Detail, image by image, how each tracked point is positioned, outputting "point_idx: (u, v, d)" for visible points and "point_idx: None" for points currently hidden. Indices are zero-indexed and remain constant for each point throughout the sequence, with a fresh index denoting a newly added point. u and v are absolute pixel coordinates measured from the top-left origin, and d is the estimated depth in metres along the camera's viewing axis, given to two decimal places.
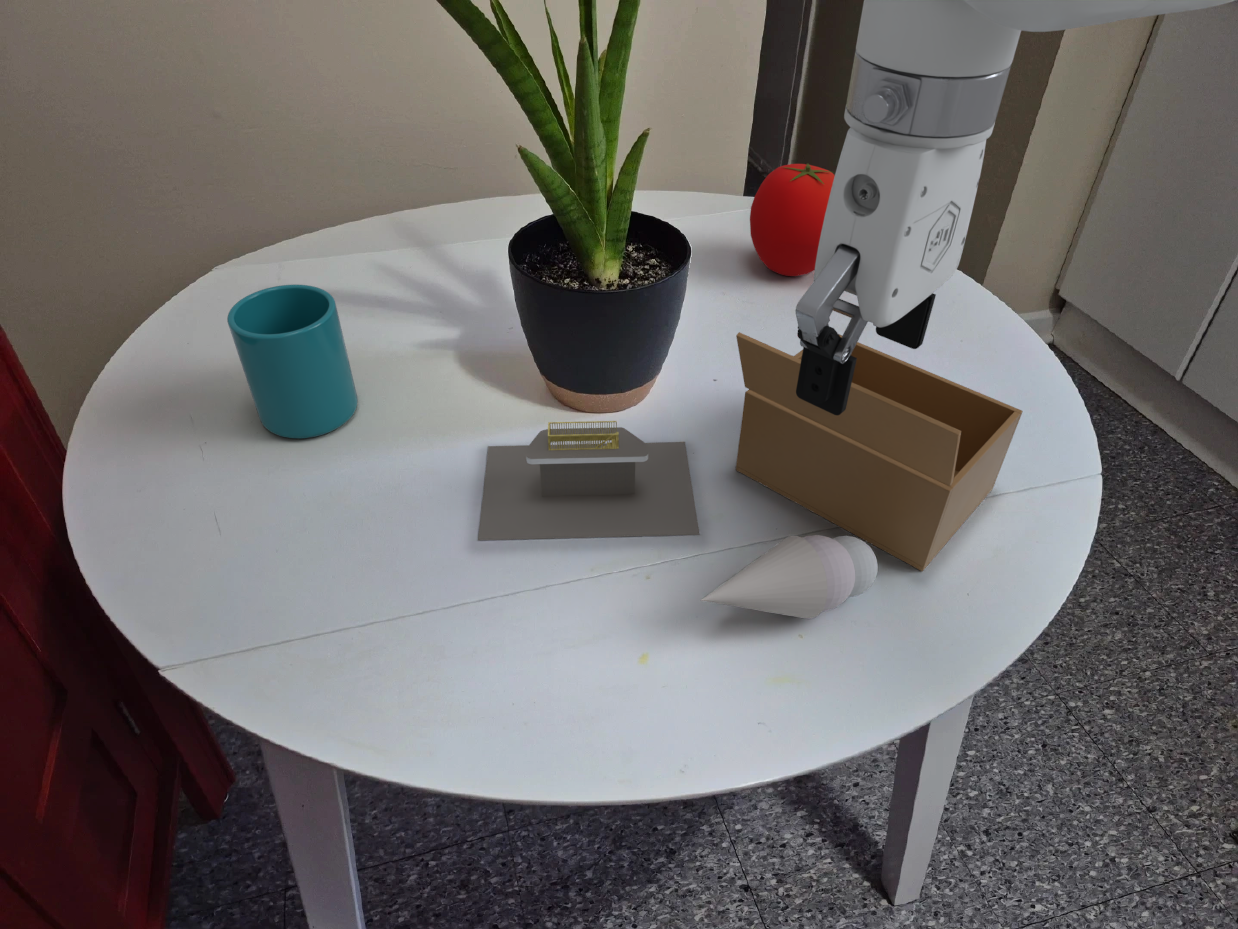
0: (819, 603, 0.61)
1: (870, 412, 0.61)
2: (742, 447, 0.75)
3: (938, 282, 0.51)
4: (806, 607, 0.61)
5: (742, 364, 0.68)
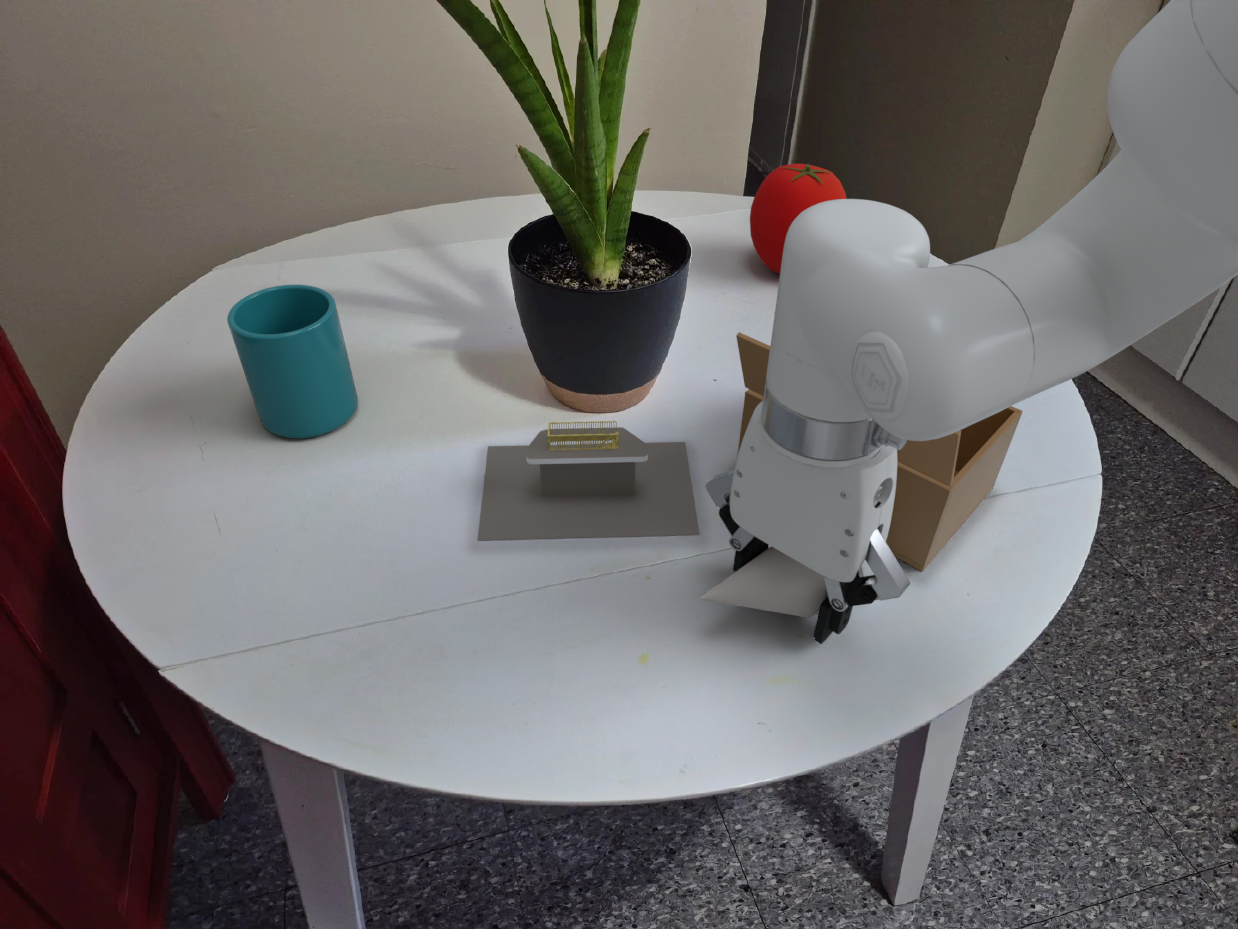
0: (818, 602, 0.61)
1: None
2: None
3: None
4: (805, 606, 0.61)
5: (742, 364, 0.68)
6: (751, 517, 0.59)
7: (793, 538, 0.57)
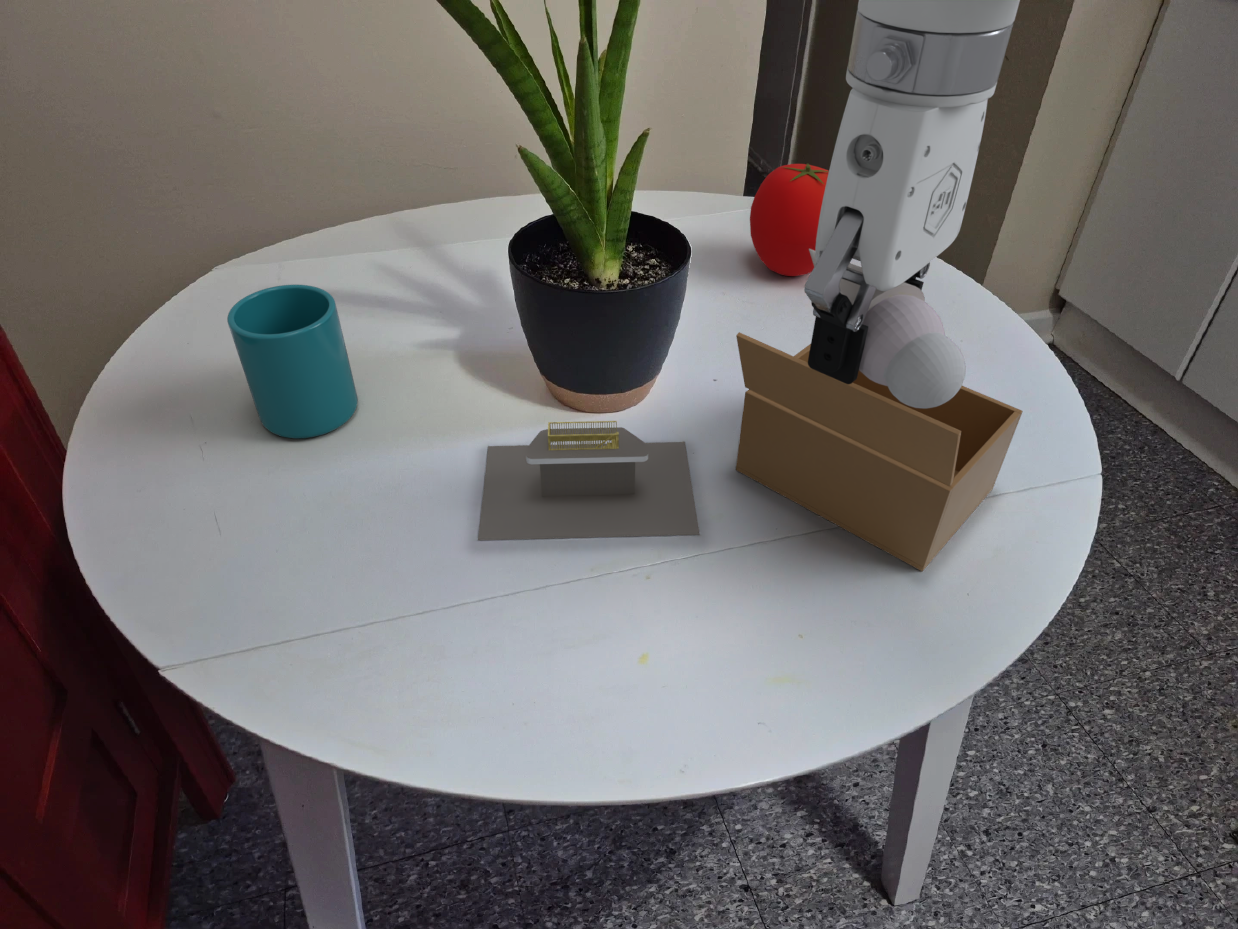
0: None
1: (870, 412, 0.61)
2: (742, 447, 0.75)
3: (940, 247, 0.51)
4: None
5: (742, 364, 0.68)
6: None
7: None
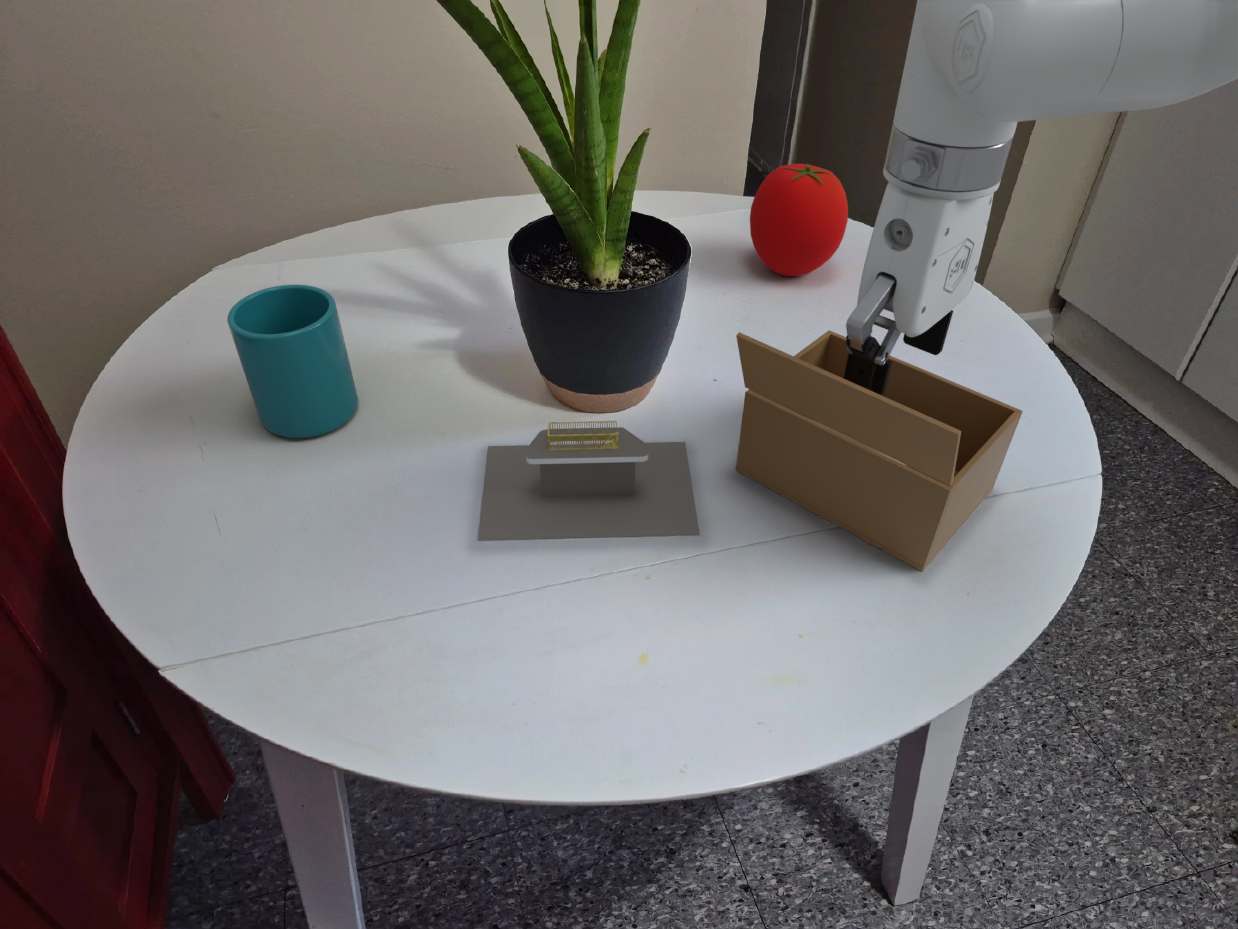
0: None
1: (870, 412, 0.61)
2: (742, 447, 0.75)
3: (956, 301, 0.63)
4: None
5: (742, 364, 0.68)
6: None
7: None
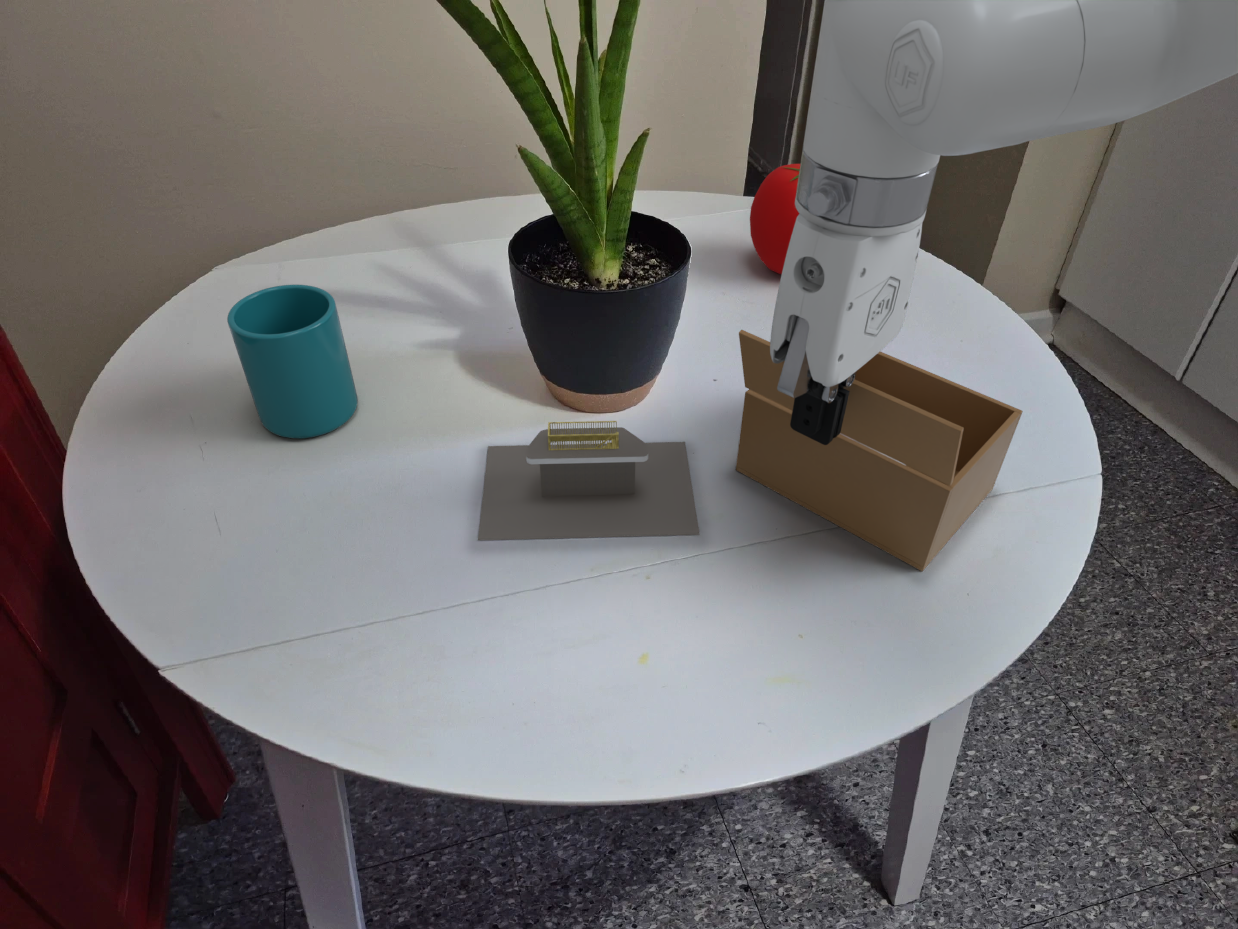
0: None
1: (872, 410, 0.61)
2: (742, 447, 0.75)
3: (883, 343, 0.56)
4: None
5: (743, 363, 0.68)
6: None
7: None
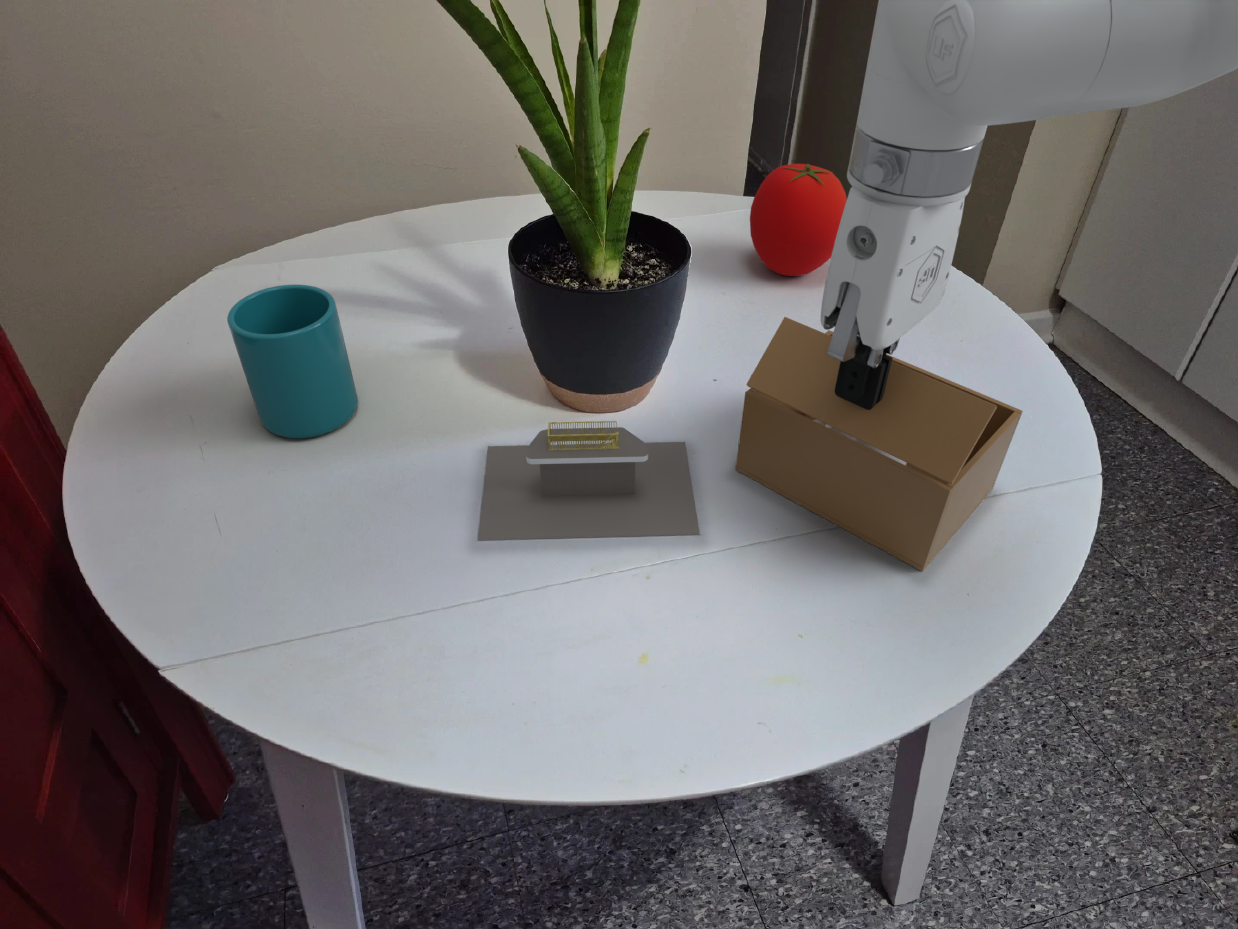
0: None
1: (900, 393, 0.65)
2: (742, 447, 0.75)
3: (926, 311, 0.60)
4: None
5: (766, 352, 0.70)
6: None
7: None
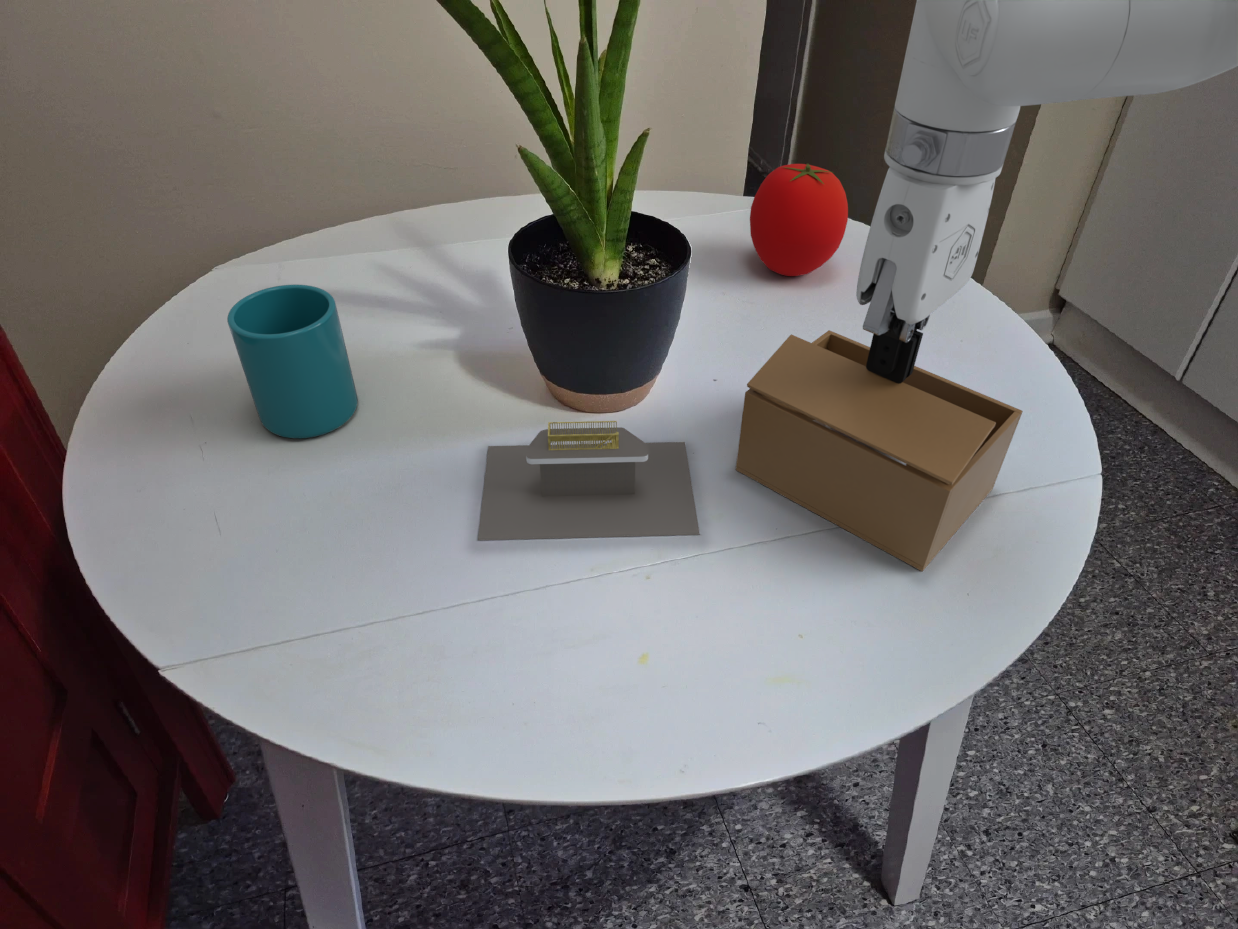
0: None
1: (902, 404, 0.66)
2: (742, 447, 0.75)
3: (956, 287, 0.63)
4: None
5: (769, 360, 0.72)
6: None
7: None
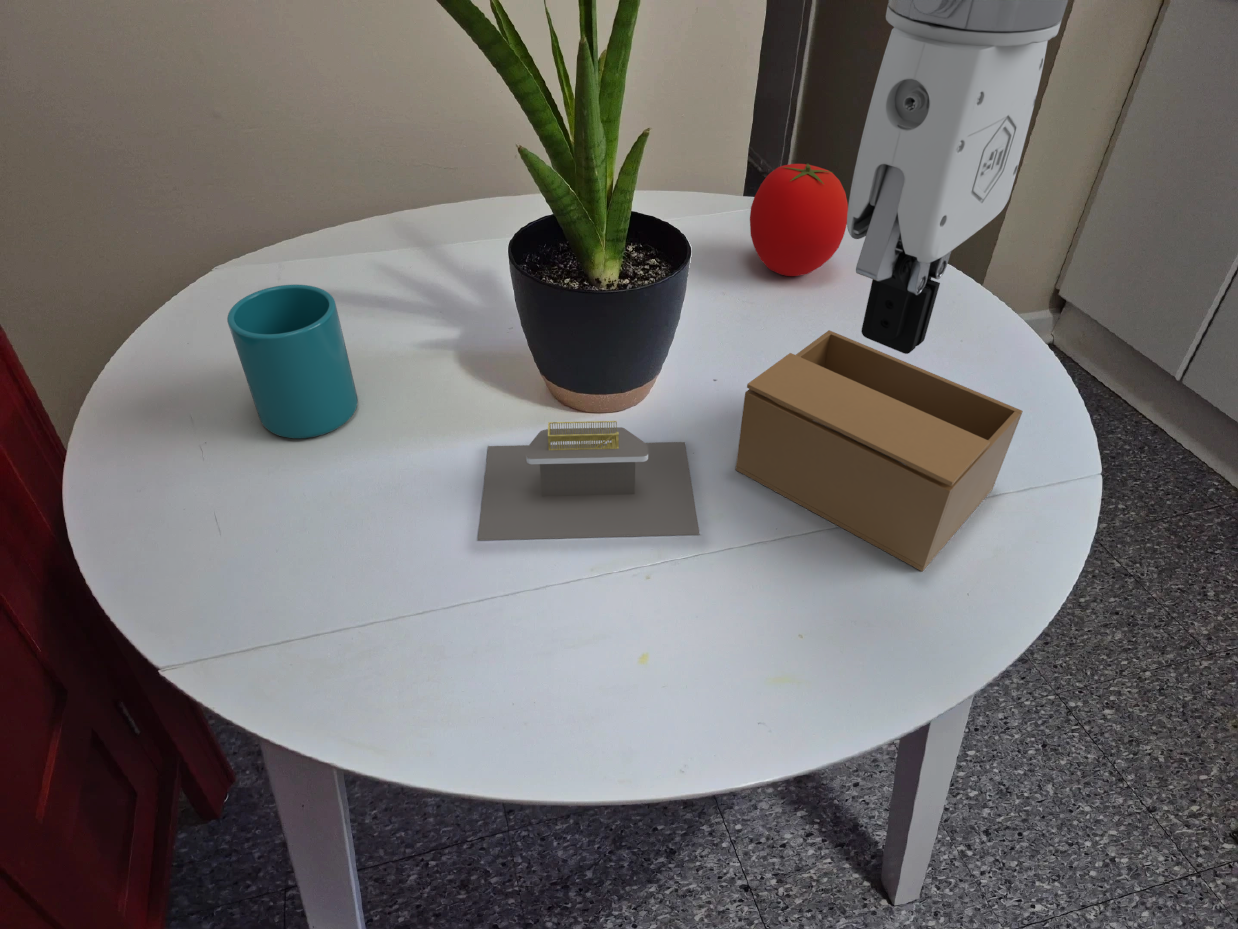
0: None
1: (900, 417, 0.68)
2: (742, 447, 0.75)
3: (988, 216, 0.45)
4: None
5: (769, 369, 0.72)
6: None
7: None
